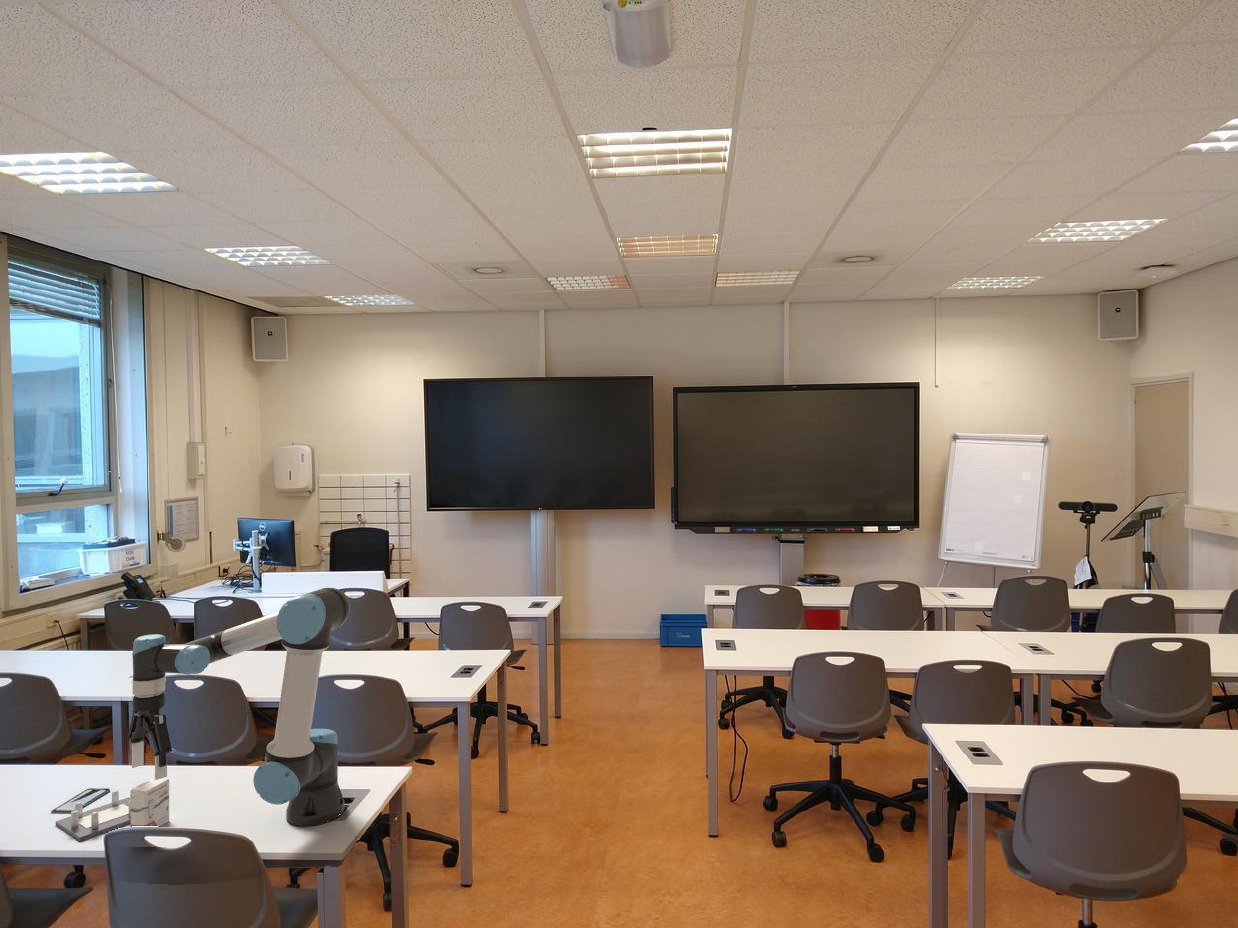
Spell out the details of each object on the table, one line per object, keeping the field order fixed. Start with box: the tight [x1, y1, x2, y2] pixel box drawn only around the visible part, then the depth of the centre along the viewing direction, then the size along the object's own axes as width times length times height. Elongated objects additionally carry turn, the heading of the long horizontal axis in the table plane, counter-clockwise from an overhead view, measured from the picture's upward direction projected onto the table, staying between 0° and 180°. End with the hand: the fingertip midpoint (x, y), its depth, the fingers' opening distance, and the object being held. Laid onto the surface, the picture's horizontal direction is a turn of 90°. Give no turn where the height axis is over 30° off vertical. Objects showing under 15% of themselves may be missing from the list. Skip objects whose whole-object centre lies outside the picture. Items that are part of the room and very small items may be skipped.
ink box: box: [129, 777, 170, 828], centre depth 205 cm, size 9×5×12 cm, turn 169°
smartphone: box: [50, 787, 111, 814], centre depth 221 cm, size 7×1×15 cm
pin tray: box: [55, 789, 131, 842], centre depth 210 cm, size 16×18×5 cm
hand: (149, 771), depth 205 cm, fingers open, 13 cm apart
